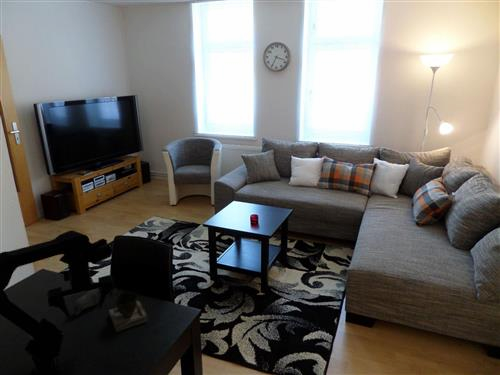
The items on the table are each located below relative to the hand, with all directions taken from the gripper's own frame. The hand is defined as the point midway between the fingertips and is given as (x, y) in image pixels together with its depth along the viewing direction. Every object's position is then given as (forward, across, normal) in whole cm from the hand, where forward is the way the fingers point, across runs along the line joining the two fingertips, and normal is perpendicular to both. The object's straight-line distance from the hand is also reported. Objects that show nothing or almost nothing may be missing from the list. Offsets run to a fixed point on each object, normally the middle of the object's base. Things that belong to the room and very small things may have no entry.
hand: (84, 312), depth 110 cm
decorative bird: (+12, -5, -21) cm, 25 cm away
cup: (+11, -14, -6) cm, 19 cm away
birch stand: (+11, -14, -6) cm, 19 cm away
